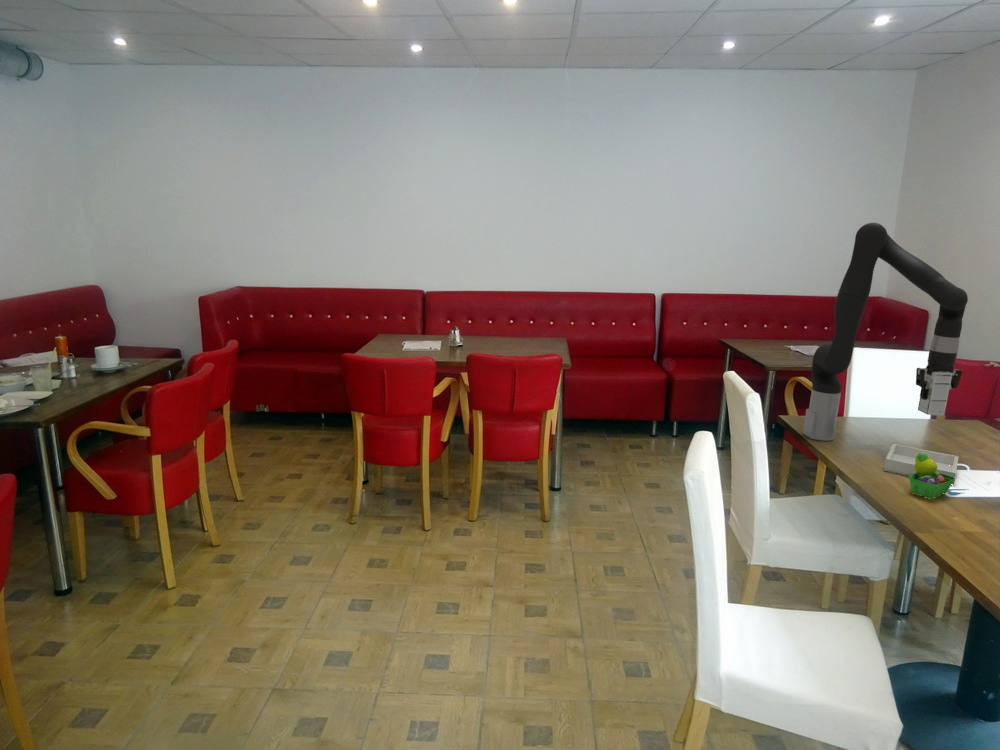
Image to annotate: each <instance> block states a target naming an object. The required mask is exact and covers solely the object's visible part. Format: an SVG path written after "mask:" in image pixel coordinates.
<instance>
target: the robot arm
mask: <svg viewBox="0 0 1000 750" xmlns="http://www.w3.org/2000/svg"><path fill="white" fill-rule="evenodd" d="M878 259H881V260H882V261H884V262H886V263H887V264H888V265H890V266H891V267H892V268H893V269H894V270H895V271H897V272H898V273H899V274H901V275H902V276H903V277H904V278H905V279H907V280H908V281H909V282H910V283H912V284H913V285H914V286H916V287H917V288H918V289H920V291H922V292H924V293H926V294H927V295H928V296H930V298H931V299H933V300H934V301H935V302H936V303H938V304H939V309H938V310H939V311H938V317H937V320H936V322H935V327H934V330H933V336H932V338H931V340H930V341H931V342H930V347H929V351H928V357H927V365H926V367H924V368H923V367H921V368H920V367H917V368H916V373H915V374H916V376H915V378H916V379H915V385H916V386H918V387H920V392H919V393H920V394H919V398H920V397H921V399H923V400H927V397H928V392H929V387H930V383H931V382H932V379H930V380H929V379H927V376H926V377H925V374H926V372H927V374H928V375H929V374H930V376H931V375H932V372H935V371H936V372H941V371H945V372H950V373H952V379H951V384H950V389H949V394H948V397H949V395H950V392H951V390H952V389H957V388H958V385H959V384H960V379H961V378H962V375H963V370H960V369H957V368H954V366H955V365H956V362H957V361H956V360H957V357H958V351H959V346H960V338H961V333H962V329H963V317H964V313H965V310H966V307H967V303H968V302H969V301H968V300H969V297H968V294H967V292H966V291H965V289H963V288H961V287H958V286H956V285H955V284H954V283H952V282H950V281H949V280H948V279H946V278H945V277H944V276H943V275H942V274H941V273H940V272H939V271H938V270H936V269H935V268H934V267H932V266H931V265H929V263H927V262H925V261H923V260H922V259H921V258H919V257H917V256H915V255H914V254H912V253H911V252H909V251H907V250H906V249H904V248H903V247H902V246H900V245H899V244H898V243H897V242H896V241H895V240H894V239H893V238H892V237H891V236H890V235H889V234H888V231H887V229H886V227H884V225H882V224H880V223H878V222H868V223H865V224H863V225H862V226H861V227H860V228H859V229H858V230H857V231H856V234H855V239H854V245H853V250H852V255H851V259H850V262H849V265H848V268H847V271H846V272H845V275H844V277H843V279H842V282H841V285H840V287H839V290H838V293H837V296H836V299H835V303H834V307H833V308H834V309H833V314H834V315H833V317H834V335H833V338H832V341H831V343H825V344H822V345H820V346H819V347H818V348H816V350H815V352H814V353H813V357H812V363H811V365H812V366H811V374H810V376H811V378H810V379H811V384H812V385H811V392H810V393H811V394H810V401H809V406H808V408H806V410H805V417H804V423H803V430H802V434H803V435H804V436H805V437H807V438H809V439H811V440H817V441H824V442H825V441H826V442H829V441H830V442H831V441H833V440H834V438H835V434H836V433H835V432H836V427H837V420H838V414H839V406H840V401H841V394H842V387H843V386H842V382H841V381H840V380H839V377H838V375H841V374H843V373H845V371H846V370H848V368H849V367H850V364H851V361H852V358H853V353H854V348H855V342H856V338H857V334H858V331H859V327H860V325H861V321H862V317H863V314H864V313H865V309H866V306H867V303H868V300H869V297H870V293H871V289H872V284H873V278H874V277H873V275H874V271H875V268H876V267H875V266H876V264H877V261H878ZM927 381H928V383H927ZM926 383H927V384H926Z"/></svg>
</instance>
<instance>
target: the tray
mask: <svg viewBox="0 0 1000 750" xmlns="http://www.w3.org/2000/svg"><path fill="white" fill-rule="evenodd" d="M919 453H925V454H927V455H928V456H929V457H930V458H931V459H932V460H933V461H934V462H935V463H936V464H937V467H938V468H937V469H936V472H939V473H942V474H945V475H948V476H952V477H954V478H955V479H956V474H957V470H958V469H957V468H958V463H959V455H953V454H948V453H943V452H940V451H932V450H927V449H923V448H917V447H912V446H907V445H902V444H898V443H897V444H896V443H893V444H892V445H891V447H890V449H889V451H888V454H887V455H886V457H885V462H884V467H883V471H884V472H887V471H888V473H892V472H893V474H896V473H898V474H897V475H901V474H904V475H903V476H906V475H910V476H911V475H913V474H916V471H915V468H914V466H915V458H916V457H917V455H918V454H919ZM949 465H950V466H949ZM954 483H955V481H954V482H952V484H953V485H954Z"/></svg>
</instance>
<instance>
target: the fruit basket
mask: <svg viewBox="0 0 1000 750" xmlns="http://www.w3.org/2000/svg"><path fill="white" fill-rule="evenodd" d="M914 468H915V471H916V474H913V475H911V476H908V479H909V482H910V487H911V488H910V490H911V494H912V493H916V494H918V495H921V496H924V497H927V498H930V499H932V500H934V499H935V498H934V497H937V496H938V497H940V496H939V495H942V494H943V493H946V492H947V493H948V491H949V489H950V488H951V486H952V485H951V484H952V482H954V483H955V480H956V477H955V478H954V477H952V476H948V475H945V474H942V473H939V472H936V469H937V468H938V467H937V464H936V463H935V462H934V461H933V460H932V459H931V458H930V457H929V456H928V455H927V454H925V453H919V454H918V455H917V457H916V458H915V466H914ZM947 493H946V494H947ZM918 495H917V496H918ZM942 496H943V495H942ZM938 497H937V498H938ZM927 498H926V499H927ZM933 498H934V499H933Z"/></svg>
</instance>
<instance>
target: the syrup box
mask: <svg viewBox="0 0 1000 750" xmlns="http://www.w3.org/2000/svg"><path fill="white" fill-rule="evenodd" d="M926 376H927V379H929V380H930V379H932V382H931V383H930V387H929V392H928V397H927V400H923V399H921V397H920V396H919V401H918V406H917V411H919V412H921V413H923V414H926V415H929V416H945V413H946V410H947V409H946V408H947V404H948V399H949V396H948V394H949V395H950V392H949V389H950V384H951V379H952V373H950V372H945V371H941V372H936V371H935V372H932V375H931V376H930V374H929V375H928V374H927V372H926V374H925V377H926ZM927 383H928V381H927ZM927 383H926V384H927Z"/></svg>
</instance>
